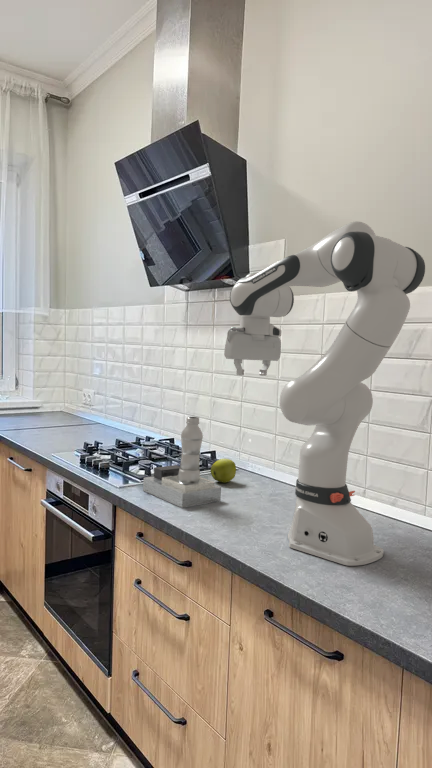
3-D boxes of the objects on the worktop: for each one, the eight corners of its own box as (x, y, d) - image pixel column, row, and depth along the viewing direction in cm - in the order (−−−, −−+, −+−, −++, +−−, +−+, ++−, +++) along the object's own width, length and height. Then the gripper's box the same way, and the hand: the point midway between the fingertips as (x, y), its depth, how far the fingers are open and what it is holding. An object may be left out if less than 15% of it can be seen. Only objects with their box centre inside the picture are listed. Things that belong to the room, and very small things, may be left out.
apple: (241, 483, 177) (242, 460, 177) (219, 486, 172) (220, 462, 172) (227, 478, 184) (229, 455, 183) (205, 480, 179) (207, 457, 178)
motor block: (220, 500, 156) (221, 477, 156) (181, 507, 147) (183, 482, 147) (174, 482, 174) (175, 461, 173) (137, 488, 165) (138, 465, 164)
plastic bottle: (173, 486, 154) (178, 417, 153) (182, 481, 160) (187, 415, 159) (194, 489, 152) (199, 419, 151) (202, 484, 158) (207, 417, 157)
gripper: (235, 326, 149) (232, 375, 150) (285, 331, 162) (282, 376, 163) (221, 326, 154) (218, 374, 154) (270, 331, 167) (267, 375, 168)
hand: (251, 375), depth 159 cm, fingers open, 8 cm apart
